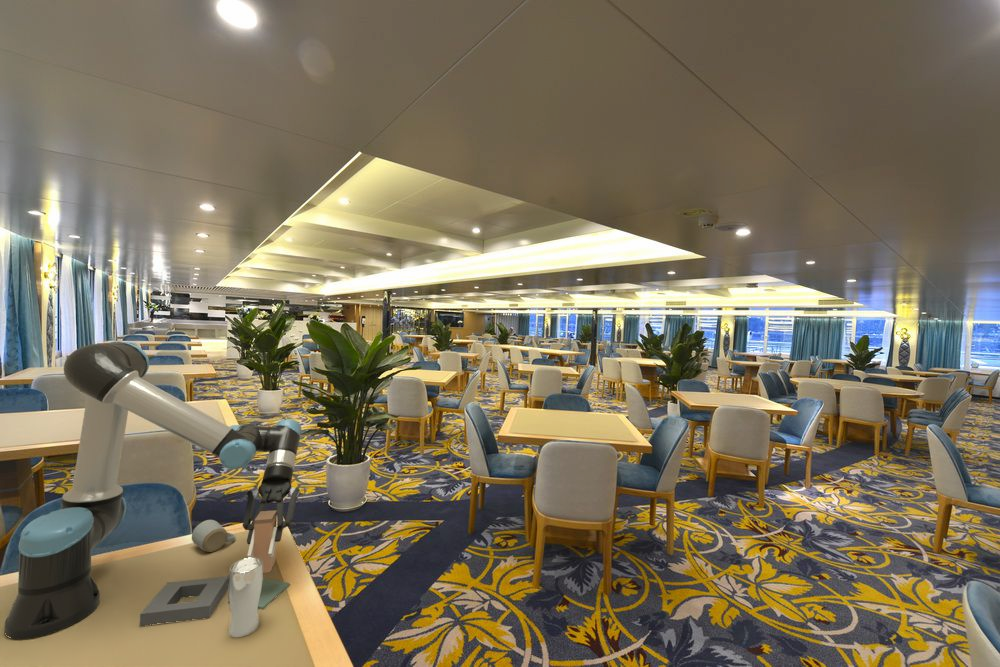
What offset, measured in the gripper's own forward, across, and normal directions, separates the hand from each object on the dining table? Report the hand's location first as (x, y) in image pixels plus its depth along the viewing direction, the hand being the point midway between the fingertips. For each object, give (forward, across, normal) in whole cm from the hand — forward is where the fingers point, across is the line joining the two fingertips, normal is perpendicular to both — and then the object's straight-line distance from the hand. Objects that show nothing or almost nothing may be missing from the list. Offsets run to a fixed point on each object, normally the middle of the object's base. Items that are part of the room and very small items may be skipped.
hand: (260, 556), depth 104 cm
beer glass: (+15, +1, -2) cm, 15 cm away
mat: (+6, +1, -11) cm, 13 cm away
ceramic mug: (-14, +22, -31) cm, 40 cm away
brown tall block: (+1, 0, -6) cm, 6 cm away
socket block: (+7, +17, -10) cm, 21 cm away
